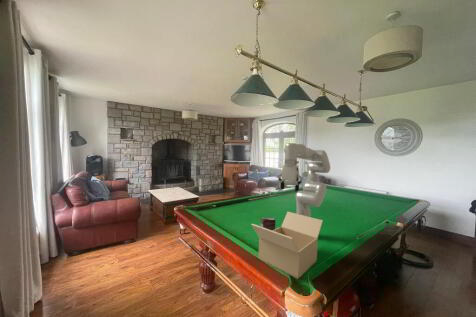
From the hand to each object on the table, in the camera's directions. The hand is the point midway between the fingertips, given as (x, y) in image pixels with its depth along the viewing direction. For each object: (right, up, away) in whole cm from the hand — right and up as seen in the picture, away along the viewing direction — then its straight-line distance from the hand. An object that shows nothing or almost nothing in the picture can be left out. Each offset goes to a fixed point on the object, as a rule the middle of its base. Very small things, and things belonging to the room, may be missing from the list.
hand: (289, 190), depth 114 cm
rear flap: (+5, -18, -7) cm, 20 cm away
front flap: (-15, -17, -28) cm, 37 cm away
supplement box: (-14, -34, -1) cm, 37 cm away
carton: (-6, -34, -18) cm, 39 cm away
